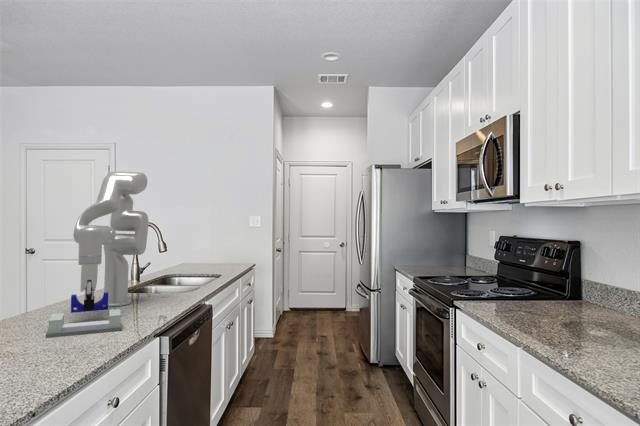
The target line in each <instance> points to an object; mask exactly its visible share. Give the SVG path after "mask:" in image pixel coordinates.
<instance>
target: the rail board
mask: <svg viewBox="0 0 640 426" xmlns="http://www.w3.org/2000/svg"><path fill="white" fill-rule="evenodd" d="M108 311H109V312H108V320H106V319H105V320H95V321H82V322H71V323H70V322H69V323H65V313H64V312H61V313H52V314H51V316H50V317H49V319H48V326H47V329H46V333H45V339H49V337H50V338H60V337H70V336H80V335H90V334H101V333H111V332H112V333H113V332H122V331H123V320H122V313H121V308H117V309H108ZM59 336H60V337H59Z"/></svg>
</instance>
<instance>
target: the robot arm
mask: <svg viewBox="0 0 640 426" xmlns="http://www.w3.org/2000/svg"><path fill="white" fill-rule="evenodd" d="M147 186H148V177H147V175H146V174H145V173H144V172H139V171H137V172H136V171H110V172H108V173H107V174H106V176H105V177H104V178H103V180H102V182H101V186H100V189H99V193H98V196H97V198H96V201H95V203H92V205H90V206H89V207H87V208H85V210H84V211H82V212H81V214H79V216H78V218H77V220H76V223H75V226H74V230H73V235H72V237H73V241H74V242H75V243H77V244H78V261H77V262H78V263H77V264H78V265H79V266H81V268H80V292H81V293H83V292H84V299H83V304H84V311H87V310H94V303H95V295H94V294H95V291H96V289H97V284H98V269H99V265H101V264H102V260H103V259H102V255H103V254H102V253H103V251H104V286H103V293H104V292H108V308H109V307H110V308H111V307H123V306H127V305H130V304H131V303H132V300H131V299H129V298H128V293H129V292H128V290H129V289H128V288H129V269H130V268H129V266H130V265H129V261H128V260H127V259H126V258H125V256H139V255H140V256H141V255H143V254H144V253H145V252H146V249H147V242H148V241H147V240H148V233H149V223H150V222H149V215H148V214H147V213H146V212H145V211H141V210H133V207H134V199H133V198H132V197H131V195H138V194H140V193H142V192H143V191H145V189H147ZM107 215H110V223H109V225H110V226H109V225H96V224H95V225H90V224H91V223H92V222H93V221H94V220H96V219H99V218H101V217H104V216H107ZM116 231H117V232H133V233H116ZM134 232H135V233H134ZM102 249H103V250H102ZM103 306H105V305H103ZM87 312H88V311H87Z"/></svg>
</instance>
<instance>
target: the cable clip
mask: <svg viewBox="0 0 640 426" xmlns="http://www.w3.org/2000/svg"><path fill="white" fill-rule="evenodd" d="M77 296H78V295H77V294H71V296H70V299H71V300H70V313H71V314H74V313H84V312H85V313H86V312H87V313H88V312H97V311H106V310H108V311H109V307H108V292H104V291H103V296H102V298H101V299H99V300H98V301H96V302H94V310H87V311H84V303H81V302H80V300H79V299H78V297H77ZM103 305H105V306H103ZM75 308H76V309H75Z"/></svg>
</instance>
